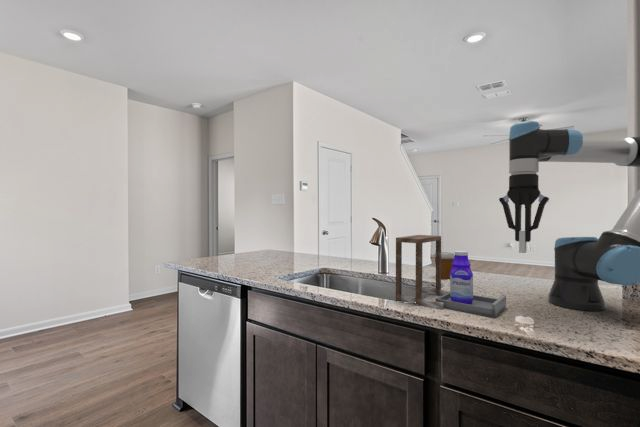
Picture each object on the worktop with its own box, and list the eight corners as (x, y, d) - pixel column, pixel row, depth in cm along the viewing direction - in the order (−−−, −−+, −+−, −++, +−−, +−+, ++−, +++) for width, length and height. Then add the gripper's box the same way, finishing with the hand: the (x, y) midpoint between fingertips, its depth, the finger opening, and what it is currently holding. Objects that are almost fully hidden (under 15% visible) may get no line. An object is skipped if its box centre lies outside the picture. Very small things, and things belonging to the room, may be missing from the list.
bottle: (449, 303, 108) (449, 251, 108) (449, 299, 114) (450, 249, 114) (473, 305, 106) (473, 252, 106) (472, 301, 111) (472, 250, 111)
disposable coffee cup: (456, 280, 149) (457, 254, 149) (435, 280, 151) (435, 254, 151) (452, 276, 158) (452, 252, 158) (432, 276, 160) (432, 251, 160)
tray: (506, 307, 107) (506, 295, 107) (495, 318, 96) (495, 304, 96) (450, 298, 119) (450, 287, 119) (435, 306, 108) (435, 294, 108)
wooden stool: (461, 298, 119) (461, 237, 119) (441, 309, 105) (442, 240, 104) (418, 290, 130) (418, 234, 130) (395, 300, 115) (395, 237, 115)
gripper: (551, 173, 96) (550, 253, 96) (502, 176, 105) (501, 249, 105) (548, 171, 90) (547, 255, 91) (496, 174, 99) (495, 251, 99)
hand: (522, 252), depth 98 cm, fingers closed
